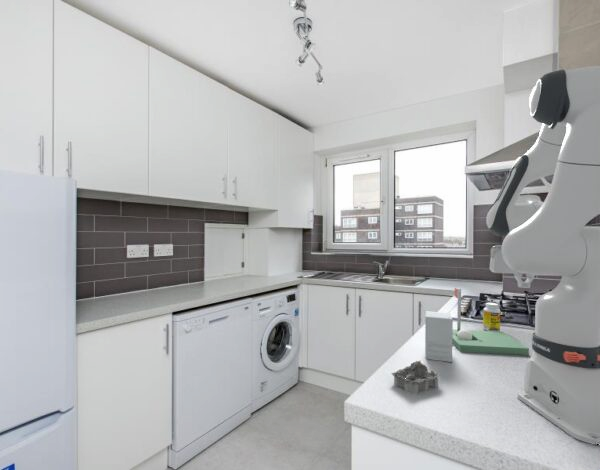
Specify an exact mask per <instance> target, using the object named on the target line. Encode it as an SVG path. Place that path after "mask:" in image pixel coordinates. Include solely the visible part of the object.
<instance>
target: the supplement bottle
mask: <svg viewBox="0 0 600 470" xmlns="http://www.w3.org/2000/svg"><path fill="white" fill-rule="evenodd" d="M482 313H483V315H482V316H483V317H482V318H483V319H482V328H483V329H482V330H483V331H495V332H501V309H499V304H498V303H495V302H486V303H485V307H484V308H483V311H482Z"/></svg>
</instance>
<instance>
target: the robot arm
mask: <svg viewBox="0 0 600 470" xmlns="http://www.w3.org/2000/svg"><path fill="white" fill-rule="evenodd" d="M528 105H529V110H530V117H532V118H533V119H534V120H535V121H536V122H538V123H540V124H542V125H541V127H540V132H539V135H538V136H537V139H536V141H535V143H533V145H532V146H531V148H530V149H529V150H527V152H526V153H524V154H523V155H521V156H519V157H517V158H516V160H515V162H514V164H513V165H512V167H511V168H510V171H509V172H508V174H507V177H506V178H505V180H504V183H503V185H502V186H501V188H500V190H499V193H498V195H497V197H496V199H495V200H494V202H493V204H491V207H490V208H489V209H488V211H487V214H486V217H485V218H486V221H485V223H486V228H487V229H488V230H489V231H490V232H491V233H492V234H494V235H495V236H496V237H504V239H503V241H502V243H501V244H495V245H494V246H491V248H490V261H489V270H490V272H492V273H494V274H513V276H514V278H515V280H516V282H517V287H518V288H523V289H525V288H526V289H530V288H531V283H532V282H533V280H534V279H535V276H547V277H548V276H550V277H551V276H552V277H555V276H556V277H561V279H560V281H559V283H558V284H557V286H556V287H555V288H553V289H552V290H551V291H548V292H545V293H543V294H542V295H540V296H539V298H538V299H537V300H536V302H535V306H534V307H535V308H534V309H535V316H534V320H535V321H534V332H533V333H532V337H531V348H532V350H533V352H532V355H531V356H530V357H529V359H528V360H527V362H526V365H525V374H524V379H523V389H522V390H520V391H518V393H517V399H518V400H520V401H522V402H523V403H524V404H526V405H527V406H528V407H530V408H531V409H532V410H534V411H535V412H537V413H538V414H540V415H541V416H542V417H544V418H545V419H547V420H548V421H550V422H551V423H552V424H554V425H555V426H557V427H558V428H559V429H561V430H562V431H564V432H566V433H567V434H568V435H570V436H571V437H573V438H575V439H577V440H579V441H581V442H585V443H588V444H592V445H595V444H596V445H597V444H600V226H594V225H593V226H591V225H590V226H586V225H587V224H588V223H589V222H590V221H591V220H593V219H594V218H595V217H597V216H599V215H600V65H591V66H584V67H583V66H582V67H578V68H573V69H572V68H571V69H567V70H565V69H564V68H563V69H559V70H555V71H551V72H548V73H547V72H546V74H543V75H542V76H541V77H540V78H539V79H538V80H537V81H536V83H535V85H534V87H533V89H532V91H531V93H530V96H529V101H528ZM552 175H553V177H552V180H551V184H550V187H549V190H548V193H547V195H546V198H545V199H544V201H542V200H541V197H540V196H539V195H537V194H532V193H529V194H528V193H527V194H521V193H522V192H523V190H524V189H525V188H526V187H527V186H528V185H529V184H531V183H533V182H535V181H537V180H540V179H543V178H545V177H549V176H552ZM524 274H525V276H526V277H527V278H526V280H525V281H523V280H522V278H523V275H524ZM597 446H598V445H597Z"/></svg>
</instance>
